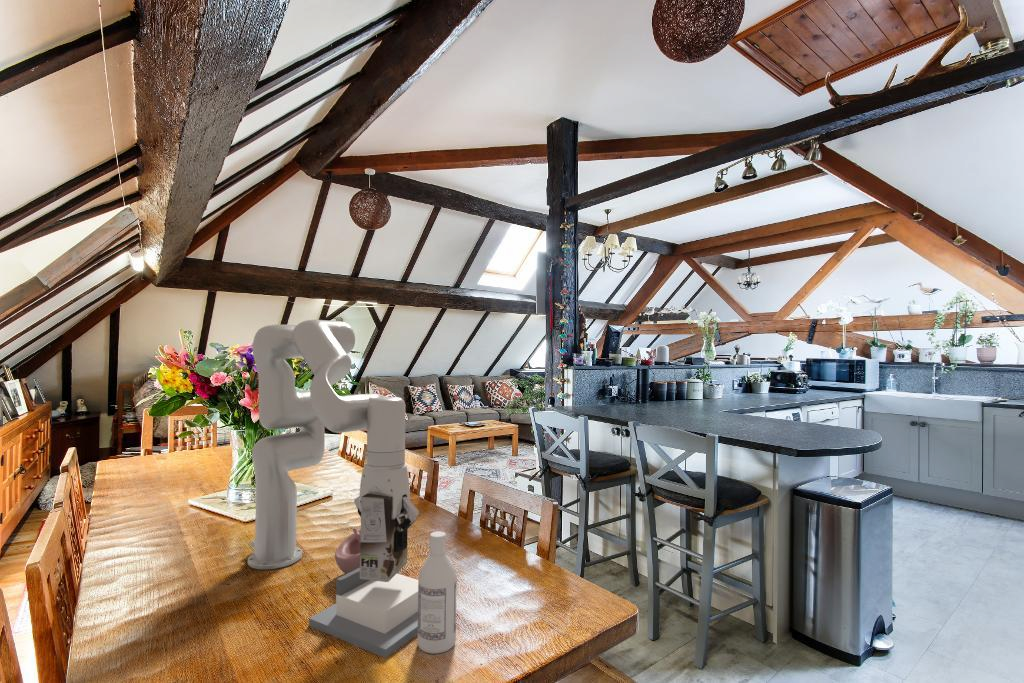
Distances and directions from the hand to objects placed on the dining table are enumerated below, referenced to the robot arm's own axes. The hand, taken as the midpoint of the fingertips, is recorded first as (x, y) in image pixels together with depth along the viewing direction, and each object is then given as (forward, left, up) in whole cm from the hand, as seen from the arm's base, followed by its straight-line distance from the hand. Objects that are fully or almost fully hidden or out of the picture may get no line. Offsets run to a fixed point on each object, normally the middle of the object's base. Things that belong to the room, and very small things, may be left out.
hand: (385, 545), depth 101 cm
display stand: (0, 0, -14) cm, 14 cm away
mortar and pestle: (-18, +11, -15) cm, 26 cm away
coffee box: (0, 0, -5) cm, 5 cm away
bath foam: (+15, -2, -15) cm, 21 cm away
